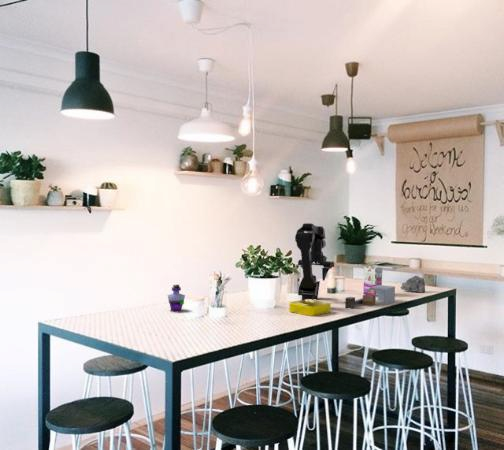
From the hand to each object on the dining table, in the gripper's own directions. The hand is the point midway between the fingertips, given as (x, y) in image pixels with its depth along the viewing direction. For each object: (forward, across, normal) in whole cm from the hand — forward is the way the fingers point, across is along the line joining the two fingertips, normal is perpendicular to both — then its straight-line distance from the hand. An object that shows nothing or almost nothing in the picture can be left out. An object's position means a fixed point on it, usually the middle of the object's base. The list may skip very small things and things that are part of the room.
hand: (315, 279), depth 274 cm
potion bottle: (+12, +42, +61) cm, 75 cm away
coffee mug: (+12, +8, -11) cm, 18 cm away
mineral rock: (+12, -29, -75) cm, 81 cm away
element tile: (+12, -10, +25) cm, 30 cm away
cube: (+12, -25, -13) cm, 30 cm away
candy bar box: (+12, -14, -45) cm, 49 cm away
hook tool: (+12, -22, -6) cm, 26 cm away
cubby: (+12, -27, -25) cm, 39 cm away
